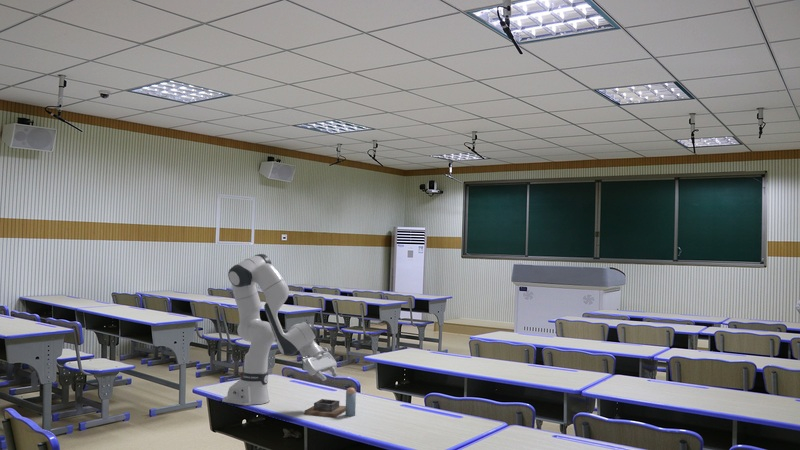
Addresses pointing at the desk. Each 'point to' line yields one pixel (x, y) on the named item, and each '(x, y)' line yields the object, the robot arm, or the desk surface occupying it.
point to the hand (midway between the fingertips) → (330, 378)
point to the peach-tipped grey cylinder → (350, 402)
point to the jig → (326, 408)
